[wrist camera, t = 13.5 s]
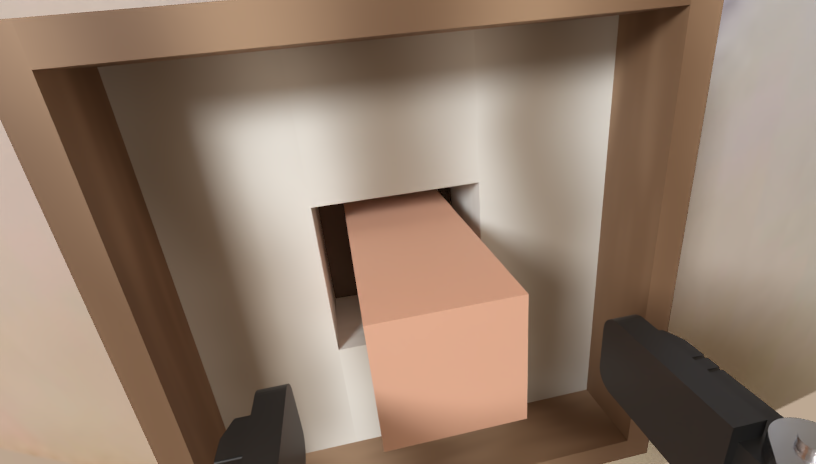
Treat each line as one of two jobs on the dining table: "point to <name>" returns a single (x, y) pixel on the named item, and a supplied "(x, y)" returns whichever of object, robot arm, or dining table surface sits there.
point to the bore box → (358, 193)
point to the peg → (436, 320)
